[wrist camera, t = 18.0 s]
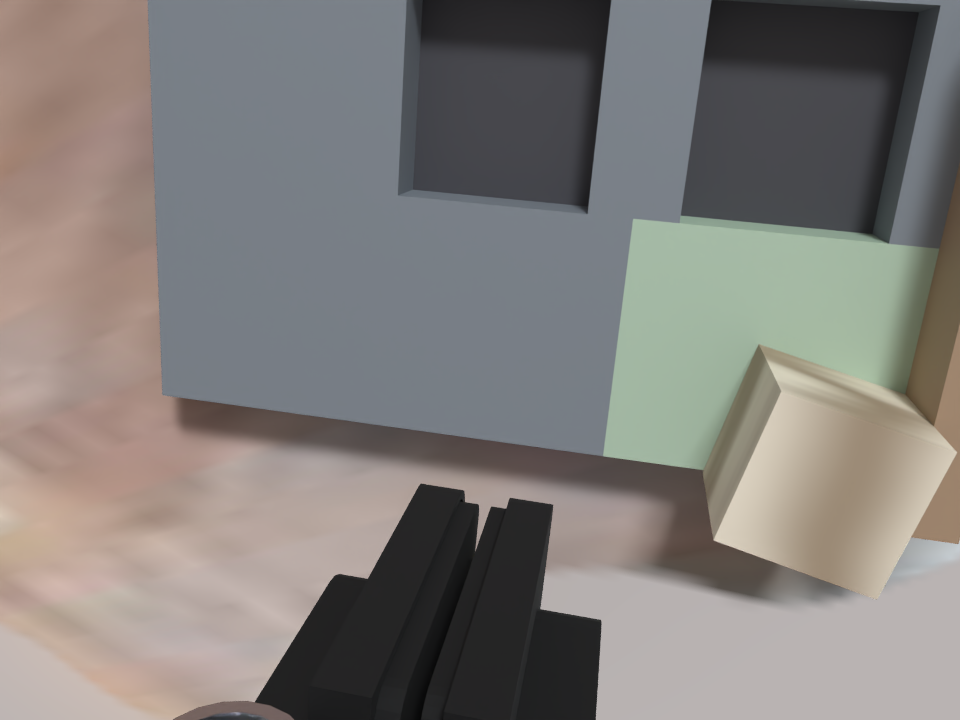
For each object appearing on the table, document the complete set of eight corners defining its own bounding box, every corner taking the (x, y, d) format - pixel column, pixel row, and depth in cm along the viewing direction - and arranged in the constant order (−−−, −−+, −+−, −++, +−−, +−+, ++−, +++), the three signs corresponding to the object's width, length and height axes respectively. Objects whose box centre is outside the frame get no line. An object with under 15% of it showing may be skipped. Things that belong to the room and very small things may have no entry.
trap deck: (193, 375, 36) (118, 422, 31) (183, -47, 31) (91, -76, 26) (906, 471, 32) (958, 543, 27) (1020, 2, 27) (1110, -21, 22)
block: (702, 472, 31) (713, 540, 26) (758, 343, 29) (781, 391, 24) (840, 521, 30) (876, 599, 25) (905, 394, 29) (957, 452, 24)
